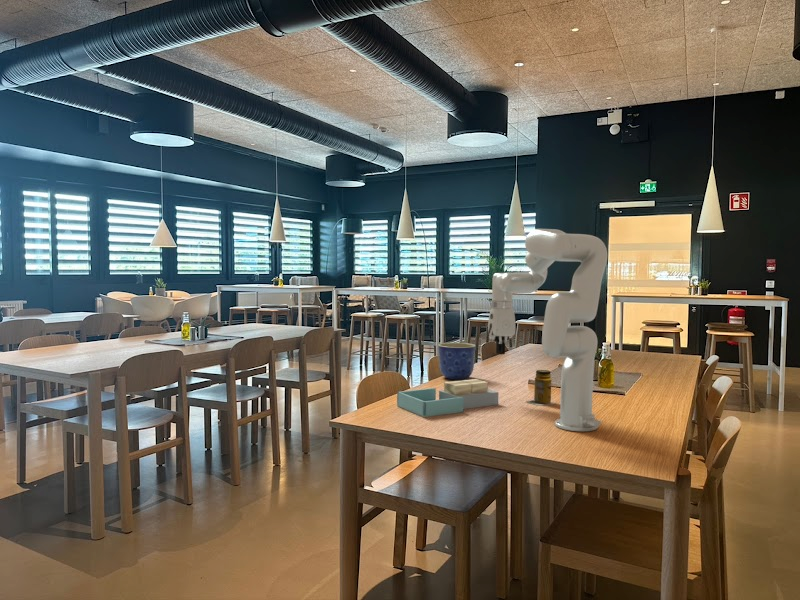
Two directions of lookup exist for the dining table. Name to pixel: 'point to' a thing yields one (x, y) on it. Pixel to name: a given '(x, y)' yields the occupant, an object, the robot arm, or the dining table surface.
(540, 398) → the condiment
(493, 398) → the grey rectangular block
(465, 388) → the tile
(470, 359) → the planter
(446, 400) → the tray
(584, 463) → the dining table surface
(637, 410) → the dining table surface
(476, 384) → the tile
